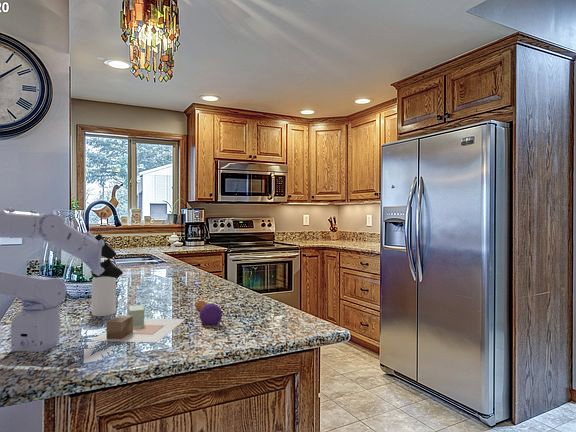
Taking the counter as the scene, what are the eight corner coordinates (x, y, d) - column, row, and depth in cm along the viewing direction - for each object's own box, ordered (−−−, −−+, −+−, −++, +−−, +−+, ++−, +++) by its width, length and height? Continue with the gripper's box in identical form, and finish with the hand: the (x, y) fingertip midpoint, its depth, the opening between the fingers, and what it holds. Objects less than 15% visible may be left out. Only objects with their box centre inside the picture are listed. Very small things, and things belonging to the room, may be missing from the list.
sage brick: (144, 324, 107) (144, 309, 107) (129, 326, 106) (129, 310, 106) (142, 319, 113) (142, 304, 113) (128, 320, 111) (128, 306, 111)
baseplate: (157, 344, 93) (157, 341, 93) (89, 343, 94) (89, 340, 94) (185, 321, 113) (185, 318, 113) (129, 320, 114) (129, 317, 114)
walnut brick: (121, 339, 95) (121, 322, 95) (106, 338, 95) (106, 321, 95) (132, 331, 101) (133, 315, 101) (119, 331, 101) (119, 315, 101)
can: (106, 318, 115) (106, 276, 115) (86, 317, 117) (86, 275, 117) (120, 313, 122) (120, 273, 122) (101, 312, 123) (101, 272, 123)
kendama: (212, 297, 127) (225, 306, 108) (209, 316, 126) (221, 329, 107) (193, 295, 125) (203, 304, 106) (189, 314, 124) (199, 327, 105)
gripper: (94, 252, 95) (134, 274, 106) (83, 215, 104) (121, 239, 115) (71, 271, 95) (113, 291, 106) (62, 233, 104) (102, 254, 115)
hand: (116, 265), depth 110 cm, fingers open, 7 cm apart
